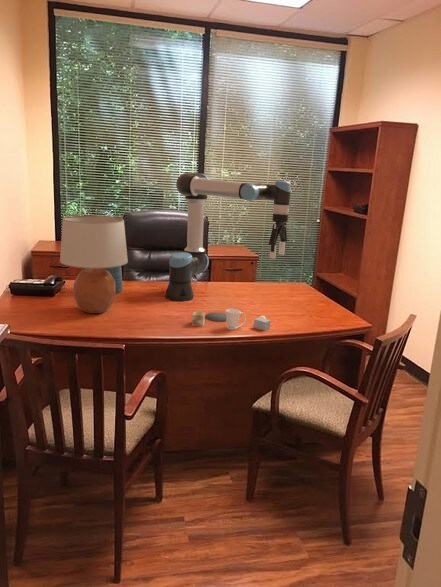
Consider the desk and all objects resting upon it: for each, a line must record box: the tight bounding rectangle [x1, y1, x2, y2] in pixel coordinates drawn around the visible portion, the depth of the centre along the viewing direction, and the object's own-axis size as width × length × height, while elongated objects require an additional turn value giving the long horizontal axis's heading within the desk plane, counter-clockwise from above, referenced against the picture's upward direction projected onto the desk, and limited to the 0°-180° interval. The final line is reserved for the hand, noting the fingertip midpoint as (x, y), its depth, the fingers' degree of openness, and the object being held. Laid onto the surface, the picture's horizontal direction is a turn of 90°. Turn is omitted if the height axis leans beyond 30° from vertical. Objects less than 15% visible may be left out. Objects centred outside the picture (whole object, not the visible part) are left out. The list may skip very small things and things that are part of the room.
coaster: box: [205, 311, 227, 322], centre depth 228 cm, size 12×12×1 cm
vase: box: [103, 266, 124, 294], centre depth 260 cm, size 16×16×27 cm
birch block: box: [191, 311, 206, 327], centre depth 216 cm, size 5×5×5 cm
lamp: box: [59, 215, 129, 314], centre depth 222 cm, size 30×30×43 cm
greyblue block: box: [253, 317, 272, 332], centre depth 216 cm, size 6×4×4 cm, turn 48°
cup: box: [225, 308, 247, 331], centre depth 214 cm, size 7×10×8 cm
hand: (276, 256), depth 240 cm, fingers open, 13 cm apart
